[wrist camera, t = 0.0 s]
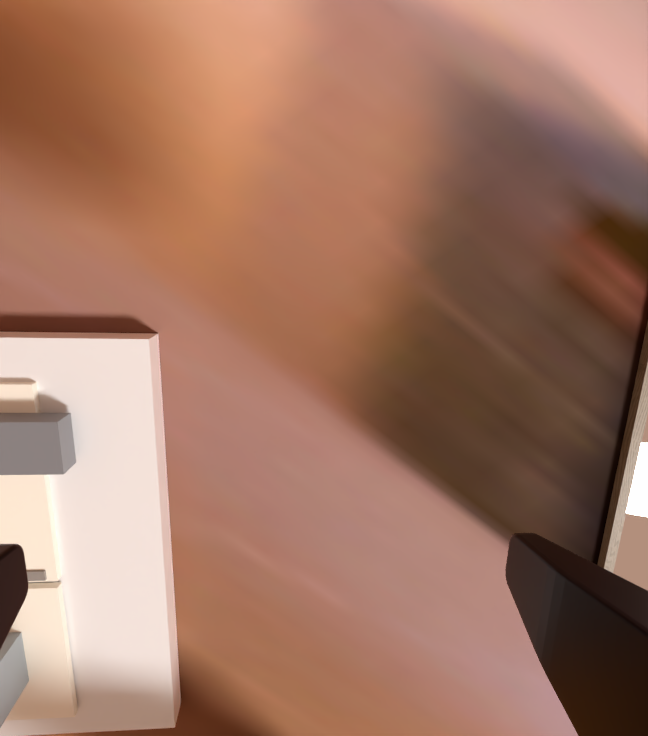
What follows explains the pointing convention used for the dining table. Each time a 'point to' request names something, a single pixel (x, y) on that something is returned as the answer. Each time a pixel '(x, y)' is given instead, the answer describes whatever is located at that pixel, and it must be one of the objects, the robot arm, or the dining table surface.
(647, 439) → the picture frame
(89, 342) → the board
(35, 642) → the cream plate grey block
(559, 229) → the dining table surface
